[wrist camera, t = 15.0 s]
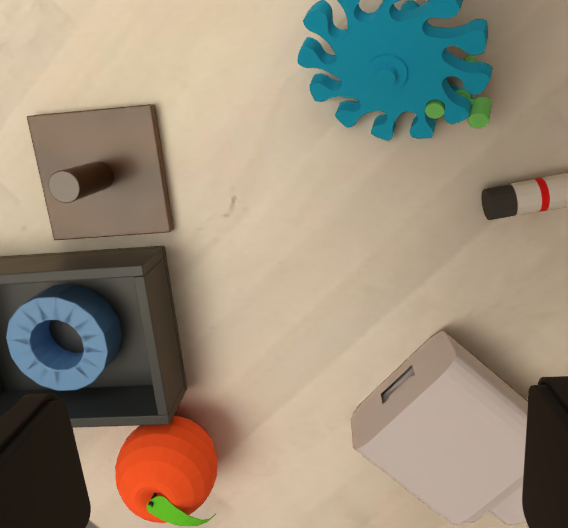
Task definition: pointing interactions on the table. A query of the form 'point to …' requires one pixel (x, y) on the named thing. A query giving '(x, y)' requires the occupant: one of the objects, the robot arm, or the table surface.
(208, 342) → the table surface
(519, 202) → the marker
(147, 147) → the peg stand
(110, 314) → the tape roll
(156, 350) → the bin
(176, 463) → the clementine
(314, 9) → the teal lobed piece
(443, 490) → the charger
